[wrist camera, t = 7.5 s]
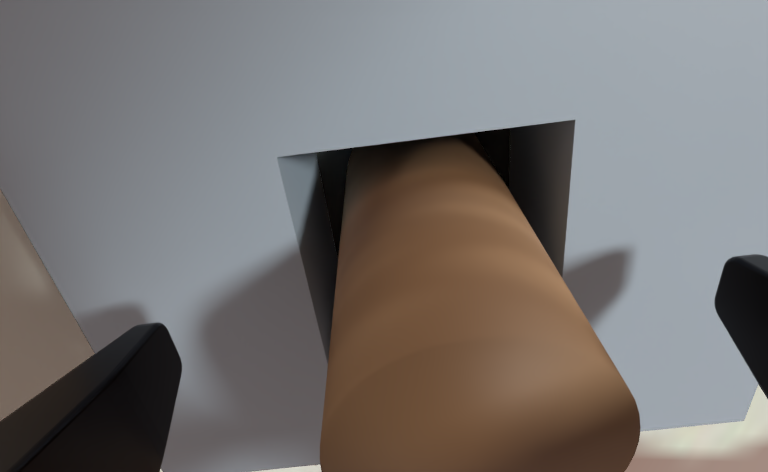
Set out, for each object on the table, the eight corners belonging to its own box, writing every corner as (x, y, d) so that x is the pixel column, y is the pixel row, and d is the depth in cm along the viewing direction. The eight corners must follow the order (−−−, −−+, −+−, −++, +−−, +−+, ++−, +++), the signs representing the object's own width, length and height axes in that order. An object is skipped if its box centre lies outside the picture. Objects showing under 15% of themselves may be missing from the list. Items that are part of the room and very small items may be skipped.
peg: (485, 98, 11) (667, 317, 4) (487, 229, 13) (618, 529, 6) (335, 118, 12) (287, 358, 5) (357, 245, 13) (347, 555, 6)
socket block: (749, -127, 9) (975, -177, 6) (656, 312, 15) (744, 420, 11) (52, -28, 10) (-120, -20, 6) (212, 362, 15) (167, 479, 12)
